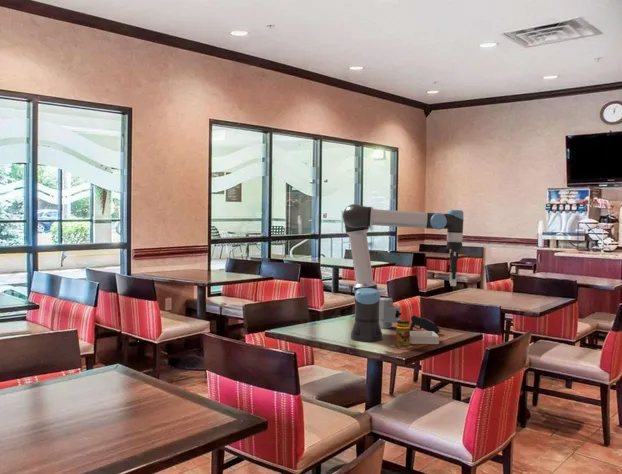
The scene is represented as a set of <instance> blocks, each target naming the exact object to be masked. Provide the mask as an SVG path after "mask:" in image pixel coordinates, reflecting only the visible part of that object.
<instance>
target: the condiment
mask: <svg viewBox="0 0 622 474" xmlns="http://www.w3.org/2000/svg"><path fill="white" fill-rule="evenodd" d="M396 323H397V324H396V330H395V335H396V336H395V337H396V339H395V343H394V344H392V345H390V347H393V348H397V347H398V348H397V349H402V350H407V349H410V348H413V347H414V346H413V345H410V344H411V343H410V321H409V320H408V319H400V320H398V321H397V322H396ZM395 346H396V347H395Z"/></svg>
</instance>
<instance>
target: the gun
mask: <svg viewBox="0 0 622 474" xmlns="http://www.w3.org/2000/svg"><path fill="white" fill-rule="evenodd" d="M410 320H411V324H410V325H409V327H410V331H414V330H413V328H415V329H417V330H421V329H424V331H434V332H435V333H436V334H437V335H438V334H441V333H442V330H440V328H439V326H438V325H437V324H435V322H433V321H431V320H430V319H428V318H425V317H421V316H417V315H414V314H413V315H412V316H411V318H410Z"/></svg>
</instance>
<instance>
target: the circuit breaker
mask: <svg viewBox="0 0 622 474" xmlns="http://www.w3.org/2000/svg"><path fill="white" fill-rule="evenodd" d="M393 302H394V301H393V298H391V297H390V298H389V297H380V304H379V324H380V328H381V330H382V329H384V330H387V329H389V328H391V327H393V323H398V322H397V321H398V320H401V316H402V312H401V306H398V305H393Z"/></svg>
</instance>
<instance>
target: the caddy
mask: <svg viewBox="0 0 622 474" xmlns="http://www.w3.org/2000/svg"><path fill="white" fill-rule="evenodd" d="M410 344H413V345H414V344H415V345H418V344H419V345H420V344H421V345H439V344H440V336H439V335H438V334H436V333H435V332H434V331H427V330H413V331H410Z"/></svg>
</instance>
